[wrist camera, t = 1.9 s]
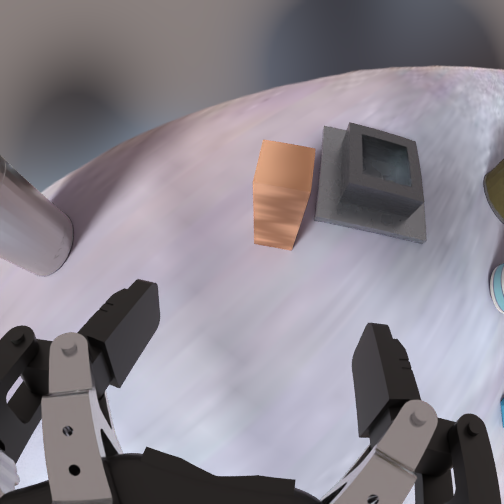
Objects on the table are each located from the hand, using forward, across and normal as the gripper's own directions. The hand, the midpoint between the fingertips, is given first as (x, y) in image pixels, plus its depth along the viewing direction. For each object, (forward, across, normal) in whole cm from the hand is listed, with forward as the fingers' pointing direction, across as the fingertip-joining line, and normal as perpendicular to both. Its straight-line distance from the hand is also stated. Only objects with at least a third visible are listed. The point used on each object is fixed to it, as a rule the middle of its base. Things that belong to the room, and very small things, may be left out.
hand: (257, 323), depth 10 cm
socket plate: (+28, -11, -2) cm, 30 cm away
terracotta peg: (+21, 0, +4) cm, 22 cm away
